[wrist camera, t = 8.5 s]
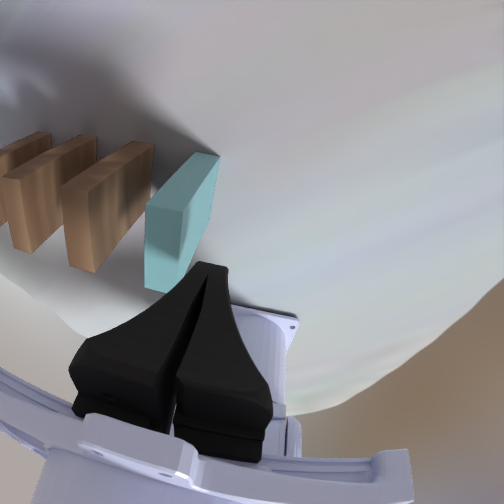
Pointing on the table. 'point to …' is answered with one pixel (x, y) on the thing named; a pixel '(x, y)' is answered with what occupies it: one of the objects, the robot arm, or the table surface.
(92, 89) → the table surface
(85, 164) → the domino
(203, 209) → the domino
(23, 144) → the domino
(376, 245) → the table surface
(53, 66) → the table surface
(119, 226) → the domino
